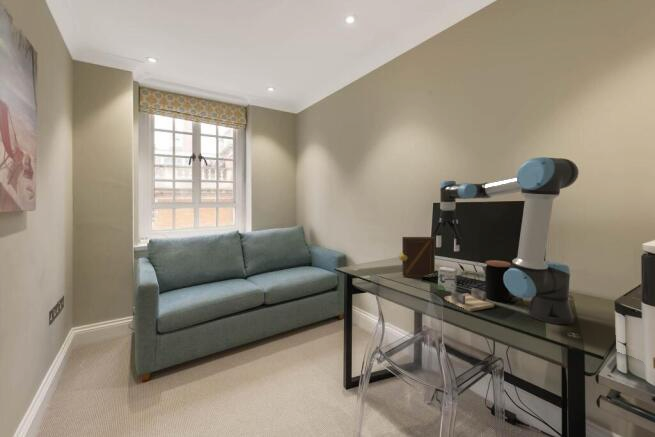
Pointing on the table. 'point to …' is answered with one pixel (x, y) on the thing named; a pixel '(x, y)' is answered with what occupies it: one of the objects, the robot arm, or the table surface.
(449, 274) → the ink box
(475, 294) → the clip stand
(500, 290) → the coffee jar
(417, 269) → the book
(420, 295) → the table surface
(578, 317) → the table surface
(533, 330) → the table surface
